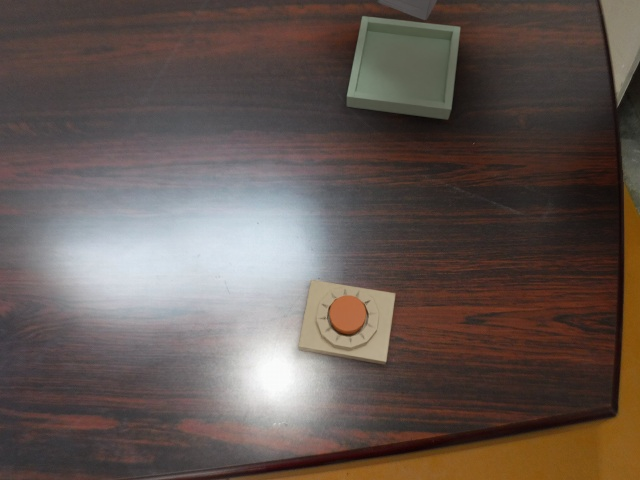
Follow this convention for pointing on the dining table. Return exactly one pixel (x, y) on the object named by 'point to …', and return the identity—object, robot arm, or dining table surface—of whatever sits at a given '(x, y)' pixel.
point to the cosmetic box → (411, 6)
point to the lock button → (347, 314)
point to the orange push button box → (358, 345)
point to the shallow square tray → (404, 67)
